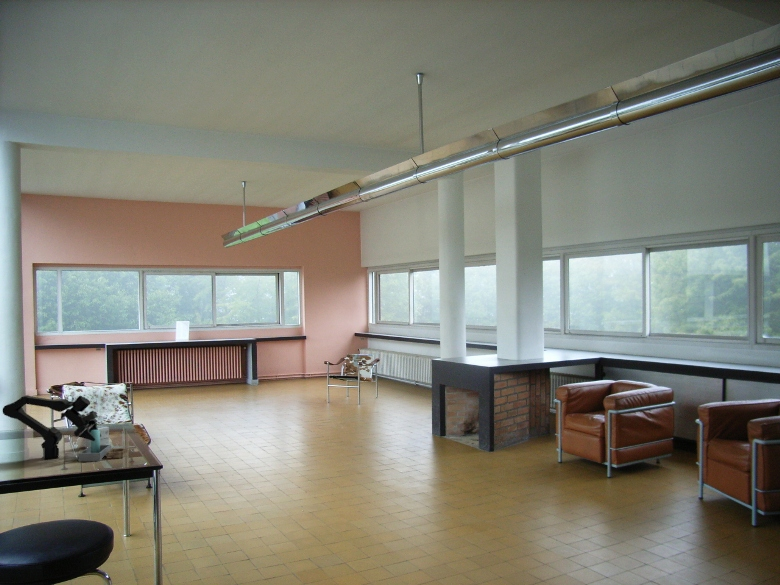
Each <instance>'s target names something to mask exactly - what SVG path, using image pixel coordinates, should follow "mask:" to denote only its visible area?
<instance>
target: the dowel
mask: <svg viewBox="0 0 780 585" xmlns="http://www.w3.org/2000/svg"><path fill="white" fill-rule="evenodd" d="M91 434H92V436H93V437H94V438H95V441H92V440H91V453H99V452H100V430H92V431H91Z"/></svg>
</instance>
